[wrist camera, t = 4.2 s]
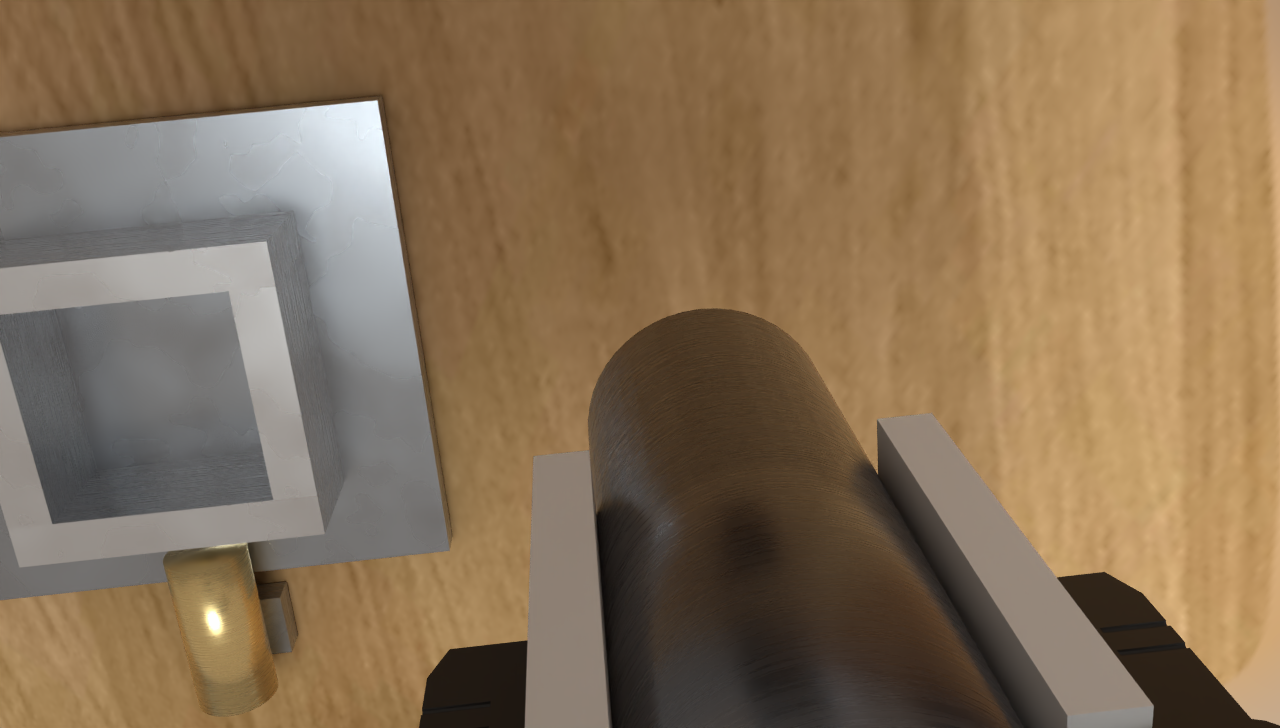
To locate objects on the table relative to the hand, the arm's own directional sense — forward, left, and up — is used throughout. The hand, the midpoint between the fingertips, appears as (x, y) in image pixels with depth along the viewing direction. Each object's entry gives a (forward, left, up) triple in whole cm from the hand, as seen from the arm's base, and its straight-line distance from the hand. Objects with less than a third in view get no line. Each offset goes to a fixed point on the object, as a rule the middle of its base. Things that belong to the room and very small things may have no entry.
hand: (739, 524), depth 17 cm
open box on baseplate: (+5, -14, -20) cm, 25 cm away
